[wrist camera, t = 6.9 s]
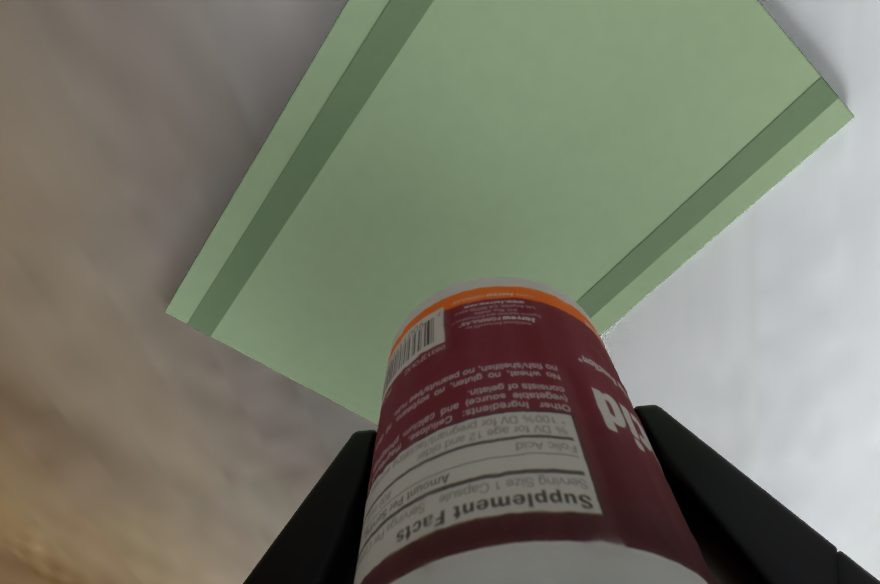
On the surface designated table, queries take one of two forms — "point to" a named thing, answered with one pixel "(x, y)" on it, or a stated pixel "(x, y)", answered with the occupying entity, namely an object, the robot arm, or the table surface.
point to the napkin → (497, 168)
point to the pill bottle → (514, 453)
